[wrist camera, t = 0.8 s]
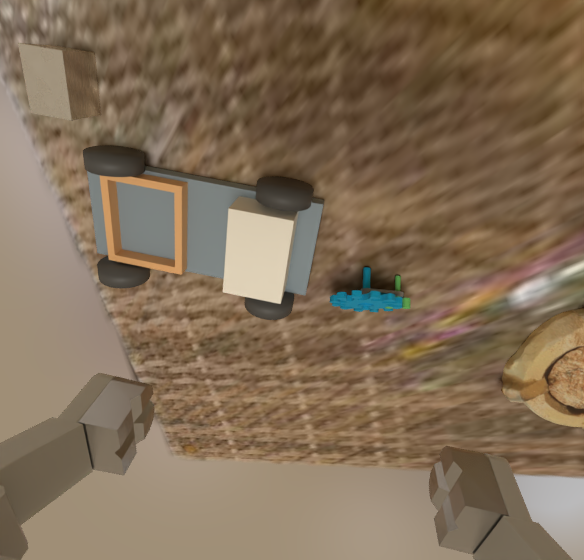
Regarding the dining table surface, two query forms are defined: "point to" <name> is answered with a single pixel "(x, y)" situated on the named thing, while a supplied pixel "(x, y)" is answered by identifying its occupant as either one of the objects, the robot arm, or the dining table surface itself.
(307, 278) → the chassis
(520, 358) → the ashtray
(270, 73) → the dining table surface
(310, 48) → the dining table surface
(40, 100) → the block
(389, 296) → the gear
